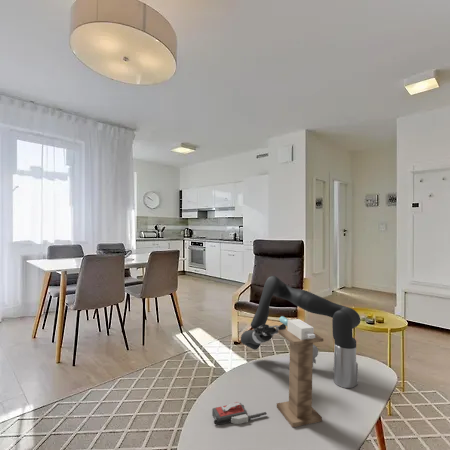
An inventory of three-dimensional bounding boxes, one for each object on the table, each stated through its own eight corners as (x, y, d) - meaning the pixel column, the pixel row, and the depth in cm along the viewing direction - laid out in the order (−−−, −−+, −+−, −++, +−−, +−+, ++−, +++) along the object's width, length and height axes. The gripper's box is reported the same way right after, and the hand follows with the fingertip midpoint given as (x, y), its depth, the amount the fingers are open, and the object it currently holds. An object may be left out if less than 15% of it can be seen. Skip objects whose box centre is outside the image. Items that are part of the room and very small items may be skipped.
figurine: (312, 364, 154) (312, 340, 154) (320, 371, 146) (321, 346, 146) (297, 366, 152) (298, 342, 151) (305, 373, 144) (306, 348, 144)
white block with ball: (286, 321, 128) (286, 311, 128) (318, 341, 106) (318, 330, 106) (275, 322, 127) (275, 312, 126) (305, 343, 105) (306, 331, 105)
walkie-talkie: (216, 431, 104) (267, 418, 111) (216, 418, 104) (268, 406, 111) (208, 415, 112) (257, 405, 119) (208, 403, 112) (257, 393, 119)
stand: (303, 402, 121) (305, 327, 120) (321, 421, 109) (323, 338, 109) (276, 407, 117) (278, 330, 117) (292, 427, 106) (294, 342, 105)
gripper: (247, 327, 145) (259, 319, 131) (274, 324, 149) (288, 317, 135) (249, 343, 141) (262, 337, 128) (277, 340, 145) (292, 334, 132)
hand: (275, 327), depth 132 cm, fingers open, 8 cm apart
